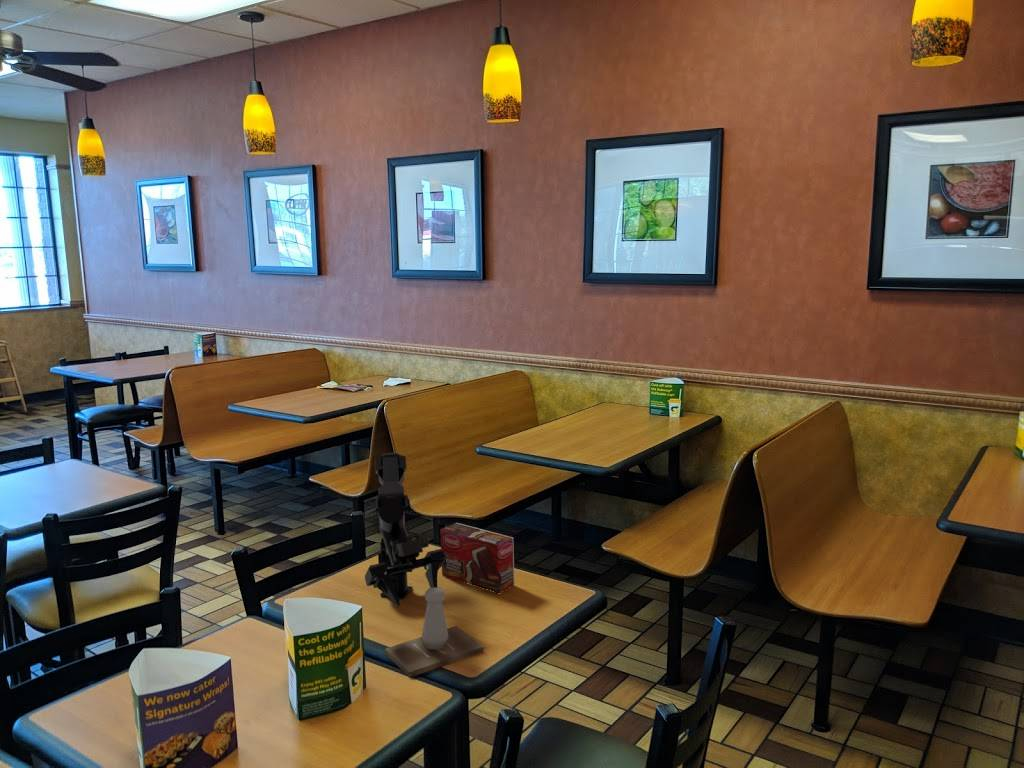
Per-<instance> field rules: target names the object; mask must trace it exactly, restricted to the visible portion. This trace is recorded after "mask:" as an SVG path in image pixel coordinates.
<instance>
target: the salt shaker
mask: <svg viewBox="0 0 1024 768" xmlns="http://www.w3.org/2000/svg"><path fill="white" fill-rule="evenodd" d="M445 597H446V594H445V590H444V589H443V588H442V587H438V586H437V587H434V588H430V587H429V588H428V589H426V591H425V593H424V599H425V601H426V602H427V603H426V609H425V615H424V621H423V625H422V626H423V628H422V632H421V637H422V639H423V641H424V643H425V645H426V646H427V648H428V649H431V650H439V649H442V648H443V647H444V645H445V643H446V641H447V639H448V631H447V628H448V627H447V626H448V625H447V621H446V615H445V611H444V610H445V609H444V605H443V601H444V600H445Z"/></svg>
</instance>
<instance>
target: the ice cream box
mask: <svg viewBox="0 0 1024 768" xmlns="http://www.w3.org/2000/svg"><path fill="white" fill-rule="evenodd" d="M439 531H440V534H439V535H440V549H441V550H443V551H444V552H445V554H446V557H447V559H446V560H445V562H444V563H443V565H442V566H441V576H442V575H443V576H442V577H444V576H446V577H445V578H447V577H448V578H447V579H450V578H452V579H451V580H453V579H454V581H457V580H458V581H457V582H460V581H461V582H460V583H463V582H465V583H464V584H466V583H469V584H472V585H475V586H478V587H481V588H484V589H488V590H491V591H494V592H496V593H495V594H497V593H501V592H502V591H504V590H506V589H508V588H509V587H511V586H513V585H514V586H515V556H514V552H515V551H514V537H512V536H509V535H504V534H501V533H497V532H493V531H489V530H485V529H483V528H482V529H481V528H478V527H474V526H472V525H471V526H470V525H466V524H463V523H458V522H455V523H452V524H450V525H448V526H445V527H443V528H441V529H440V530H439ZM469 584H468V585H469ZM472 585H471V586H472ZM475 586H474V587H475ZM514 586H513V587H514ZM478 587H477V588H478ZM481 588H480V589H481ZM511 588H512V587H511ZM484 589H483V590H484ZM509 589H510V588H509ZM509 589H508V590H509ZM506 591H507V590H506ZM504 592H505V591H504ZM502 593H503V592H502ZM502 593H501V594H502Z"/></svg>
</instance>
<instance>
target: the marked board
mask: <svg viewBox="0 0 1024 768" xmlns="http://www.w3.org/2000/svg"><path fill="white" fill-rule="evenodd" d="M447 631H448V639H447V641H446V643H445V645H444V647H443V648H442V649H439V650H431V649H428V648H427V646H426V645H425V643H424V641H423V639H422V636H420V637H417V638H414V639H411V640H407V641H405V642H402V643H398V644H395V645H392V646H389V647H386V648H384V654H385V655H386V656H387V657H388V658H389V659H390V660H391V661H392V663H394V664H395V665H396V666H397V667H398V668H399V669H400V670H401V671H403V673H404V674H405V675H406V676H407V677H408V678H412V677H416V676H419V675H422V674H423V673H427V672H431V671H432V670H436V669H438V668H442V667H444V666H446V665H450V664H452V663H456V662H458V661H460V660H464V659H466V658H469V657H472V656H475V655H478V654H480V653H484V652H485V651H484V646H483V645H482V644H481V643H479V642H478V641H477V640H476V639H474V638H473V637H472V636H470V635H469V634H468V633H466V632H465V631H464V630H462V629H461V627H459V626H458V625H453V626H451V627H447Z"/></svg>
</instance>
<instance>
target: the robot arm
mask: <svg viewBox="0 0 1024 768" xmlns="http://www.w3.org/2000/svg"><path fill="white" fill-rule="evenodd" d="M374 466H375V467H374V468H375V474H376V475H378V482H379V484H380V485H381V486H380V487H379V488H378V490H377V491H378V492H377V493H378V496H375V515H378V518H379V526H378V527H379V529H380V534H381V536H382V538H381V540H380V551H378V552H377V560H378V563H374V564H370V565H369V567H368V568H367V570H366V573H365V575H364V581H365V584H366V586H367V587H370V586H371V587H373V589H379V590H380V591H381V593H380V597H387V598H388V599H389V600H390V601H391V602H392V603H393V604H394V605H395V606H396V608H399V607H400V606H401V602H400V600H399V599H405V597H407V595H408V594H409V593H410V592H411V591H413V588H414V586H410V585H409V584H408V573H413V570H416V569H418V568H419V569H420V568H424V570H425V573H424V575H425V578H426V580H427V582H428V585H429V588H434V587H438V574H439V570H440V568H441V569H442V565H443V563H444V562H445V560H446V559H447V557H446V554H445V552H444V551H443V550H441V548H439V549H434V550H430V551H427V553H426V554H425V556H424V557H422V558H419V556H420V553H423V552H424V551H423V550H424V548H428V547H429V545H430V543H429V539H428V537H427V535H426V532H425V533H420V534H417V535H416V536H415V539H413V538H412V536H410V535H408V534H409V533H408V531H407V529H406V525H405V522H406V520H405V519H406V518H405V517H406V516H405V514H406V513H409V510H411V499H410V498H409V496H408V494H405V487H404V486H403V483H404V482H405V473H407V472H408V471H407V457H406V456H405V455H402V454H400V453H398V452H387V453H386V452H385V453H382V454H380V455H379V456H378V457H375V458H374ZM417 558H418V559H417Z"/></svg>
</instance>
